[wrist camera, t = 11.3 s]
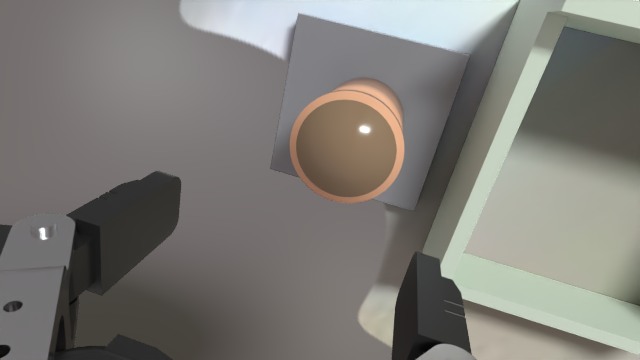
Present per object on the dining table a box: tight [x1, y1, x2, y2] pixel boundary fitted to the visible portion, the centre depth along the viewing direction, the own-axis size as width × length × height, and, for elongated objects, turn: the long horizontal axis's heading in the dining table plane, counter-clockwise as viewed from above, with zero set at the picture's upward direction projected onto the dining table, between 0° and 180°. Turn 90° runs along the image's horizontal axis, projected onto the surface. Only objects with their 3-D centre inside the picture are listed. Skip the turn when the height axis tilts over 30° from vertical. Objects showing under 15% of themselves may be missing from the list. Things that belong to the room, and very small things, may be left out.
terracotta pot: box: [290, 77, 405, 203], centre depth 25 cm, size 6×6×8 cm
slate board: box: [270, 13, 470, 211], centre depth 30 cm, size 12×12×2 cm
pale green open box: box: [422, 0, 640, 355], centre depth 24 cm, size 20×20×9 cm
